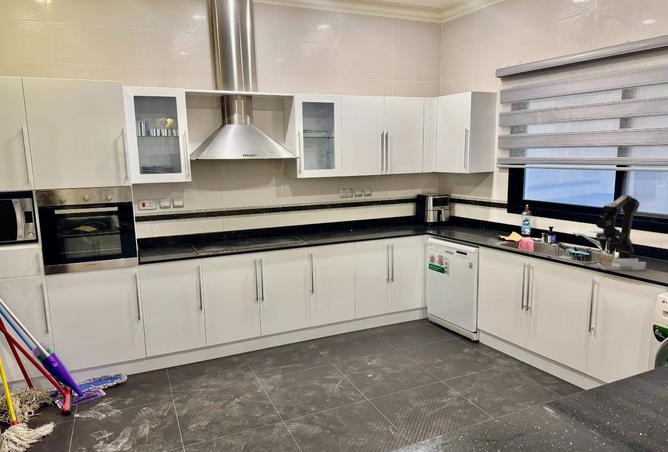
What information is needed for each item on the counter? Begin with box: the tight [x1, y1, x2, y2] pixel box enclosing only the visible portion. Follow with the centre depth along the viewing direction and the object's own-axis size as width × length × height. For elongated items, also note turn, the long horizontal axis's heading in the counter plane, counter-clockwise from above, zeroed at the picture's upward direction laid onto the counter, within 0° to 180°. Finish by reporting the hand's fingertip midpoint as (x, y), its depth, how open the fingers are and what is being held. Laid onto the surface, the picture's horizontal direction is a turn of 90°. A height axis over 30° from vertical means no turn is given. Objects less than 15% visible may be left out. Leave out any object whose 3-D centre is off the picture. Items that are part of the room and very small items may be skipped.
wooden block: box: [598, 254, 614, 266], centre depth 271 cm, size 5×5×5 cm
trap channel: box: [596, 258, 647, 271], centre depth 271 cm, size 9×23×4 cm, turn 84°
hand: (607, 252), depth 271 cm, fingers open, 9 cm apart
